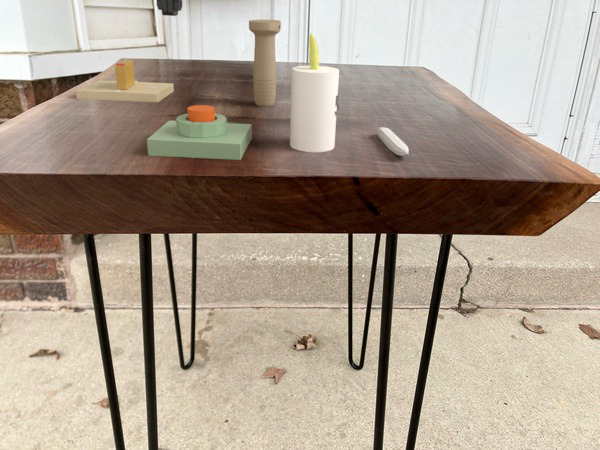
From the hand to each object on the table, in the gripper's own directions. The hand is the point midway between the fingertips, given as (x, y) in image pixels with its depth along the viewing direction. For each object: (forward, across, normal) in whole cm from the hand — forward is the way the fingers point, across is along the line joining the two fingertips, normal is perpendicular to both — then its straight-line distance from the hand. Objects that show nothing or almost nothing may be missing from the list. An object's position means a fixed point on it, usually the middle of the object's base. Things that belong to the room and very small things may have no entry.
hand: (170, 15), depth 66 cm
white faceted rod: (+16, -30, -4) cm, 34 cm away
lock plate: (+17, +15, -23) cm, 32 cm away
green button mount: (+17, -4, +1) cm, 17 cm away
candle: (+17, -19, -2) cm, 25 cm away
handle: (+17, -10, -20) cm, 28 cm away
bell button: (+13, -4, +1) cm, 14 cm away
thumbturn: (+14, +15, -23) cm, 31 cm away
